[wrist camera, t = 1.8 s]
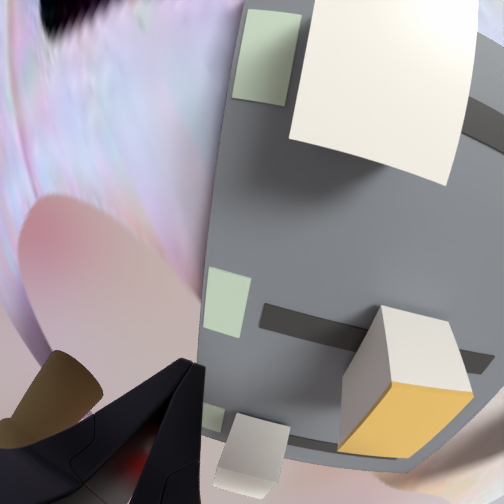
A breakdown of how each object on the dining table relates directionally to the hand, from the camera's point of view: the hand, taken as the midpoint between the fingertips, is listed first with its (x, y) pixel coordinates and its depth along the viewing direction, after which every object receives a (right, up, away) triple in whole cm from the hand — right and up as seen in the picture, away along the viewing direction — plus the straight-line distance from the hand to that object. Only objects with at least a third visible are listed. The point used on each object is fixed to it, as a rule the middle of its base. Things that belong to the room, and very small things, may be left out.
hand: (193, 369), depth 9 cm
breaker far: (+2, -7, +7) cm, 10 cm away
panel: (+8, 0, +3) cm, 9 cm away
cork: (-14, -7, +14) cm, 21 cm away
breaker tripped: (+7, 0, +2) cm, 8 cm away
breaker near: (+5, +8, -2) cm, 10 cm away
